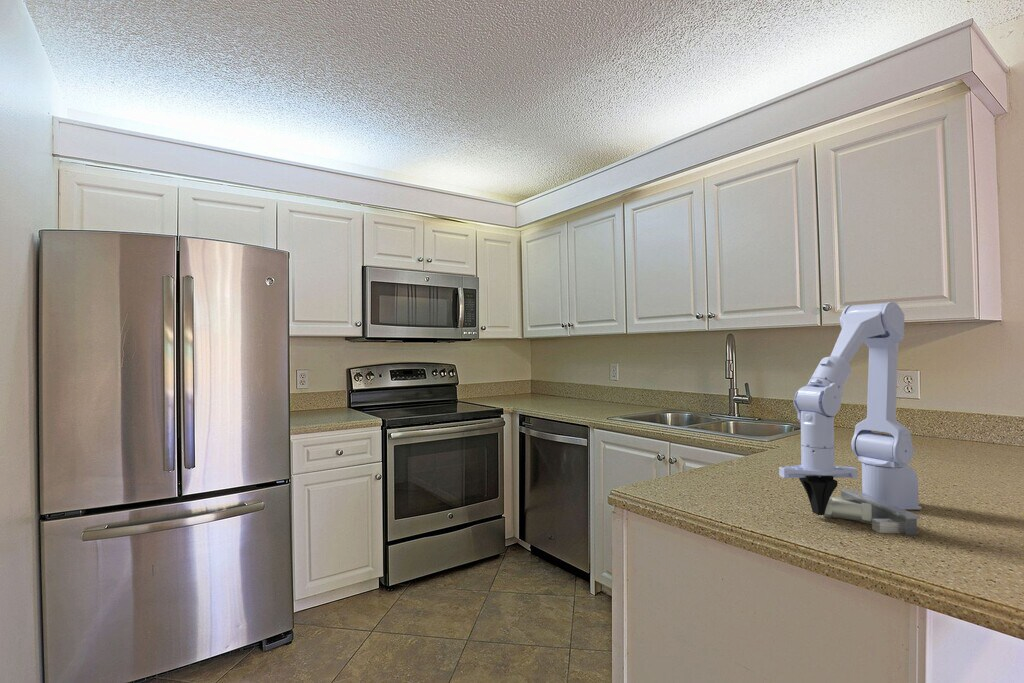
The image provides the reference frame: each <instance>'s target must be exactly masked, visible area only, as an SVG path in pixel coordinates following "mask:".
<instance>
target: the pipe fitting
mask: <svg viewBox="0 0 1024 683" xmlns="http://www.w3.org/2000/svg"><path fill="white" fill-rule="evenodd" d="M831 497H832V498H829V501H828V504H827V507H826V510H825V514H824V515H822V517H824V518H830V519H832V518H839V519H843V520H851V521H856V522H857V521H858V522H861V523H862V524H867V525H872V508H871V504H868V503H862V504H858V503H854V502H850V501H847V500H843V499H840V498H836V497H837V496H831Z"/></svg>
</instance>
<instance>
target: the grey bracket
mask: <svg viewBox="0 0 1024 683" xmlns="http://www.w3.org/2000/svg"><path fill="white" fill-rule="evenodd" d="M832 497H833V496H830V498H832ZM835 497H836V498H840V499H843V500H847V501H850V502H854V503H858V504H862V503H868V504H871V508H872V524H871V528H872V529H871V530H872V531H874V532H877V533H878V534H902V535H904V536H917V535H918V522H917V520H920V519H921V516H920V515H918V514H916V513H914V512H911V511H910V510H907V509H902V508H899V507H897V506H894V505H892V504H889V503H887V502H884V501H882V500H880V499H877V498H875V497H872V496H870V495H867V494H865V493H862V491H860V490H857V489H855V488H840V496H835Z"/></svg>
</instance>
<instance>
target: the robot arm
mask: <svg viewBox="0 0 1024 683" xmlns="http://www.w3.org/2000/svg"><path fill="white" fill-rule="evenodd" d="M839 325H840V329H841V330H840V332H839V335H838V337H837V339H836V342H835V343H834V347H833V349H832V351H831V353H830V355H829V356H826V357H823V358H822V359H820V362H819V363H818V365H817V367H816V368H815V370H814V372H813V374H812V376H811V377H810V379H809V381H808V383H807V384H806V385H804V386H802V387H800V388H799V389H797V390H796V392H795V394H794V399H793V400H792V401H793V407H794V409H795V410H796V412H797V413H796V414H797V419H798V421H799V422H800V457H801V461H800V462H801V464H797V465H788V466H779V467H778V470H779V471H778V472H779V473H778V476H779V478H780V477H781V478H782V479H785V480H786V479H790V478H792V479H793V478H798V479H799V481H800V483H801V484H802V487H803V488H804V491H805V493H806V495H807V498H808V501H809V504H810V507H811V511H812V513H813V514H815V515H817V516H823V515H824V514H825V510H826V507H827V504H828V501H829V498H830V497H832V494H833V492H834V491H835V489H836V488H837V487H838V482H839V481H838V480H836V478H840V479H841V478H847V479H848V478H850V479H858V468H856V467H852V466H844V465H843V466H841V465H839V466H838V465H835V419H834V417H835V416H836V415H837V414H838V413H839V411H840V410H841V406H842V396H843V391H842V390H843V388H844V386H845V384H846V382H847V380H848V379H849V376H850V375H851V373H852V366H850V362H851V360H852V359H853V357H854V356H855V354H857V352H858V350H859V349H860V348H861V346H862V344H863V343H864V345H866V346H867V347H868V372H867V373H868V374H867V375H868V377H867V403H866V404H867V406H866V408H867V409H866V417H865V418H864V419H863V420H861V421H860V422H858V423H856V424H855V425H854V433H853V436H852V438H851V442H850V443H851V450H852V453H853V454H854V455H855V457H857V460H858V462H861V488H862V489H861V492H862V493H865V494H867V495H870V496H872V497H875V498H877V499H880V500H882V501H884V502H887V503H889V504H892V505H894V506H897V507H899V508H902V509H904V510H922V509H923V508H922V507H921V506H919V479H918V474H917V473H916V470H915V469H914V468H913V467H912V466H911V465H909V463H911V461H912V459H913V457H914V451H915V450H914V449H915V448H914V445H913V442H912V433H911V430H909V428H907V427H906V426H904V425H903V424H902V423H901V422H900V421H898V420H897V394H898V393H897V390H898V360H899V359H898V355H899V354H898V353H899V343H901V342H902V341H904V337H905V336H904V335H905V313H904V311H903V310H902V308H901V307H900V306H899V304H898V303H897V302H894V301H888V302H884V303H880V302H879V303H871V304H870V303H869V304H857V305H851V304H849V305H847V306H845V307H844V308H843V310H842V312H841V314H840V316H839ZM880 432H881V433H880Z"/></svg>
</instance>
